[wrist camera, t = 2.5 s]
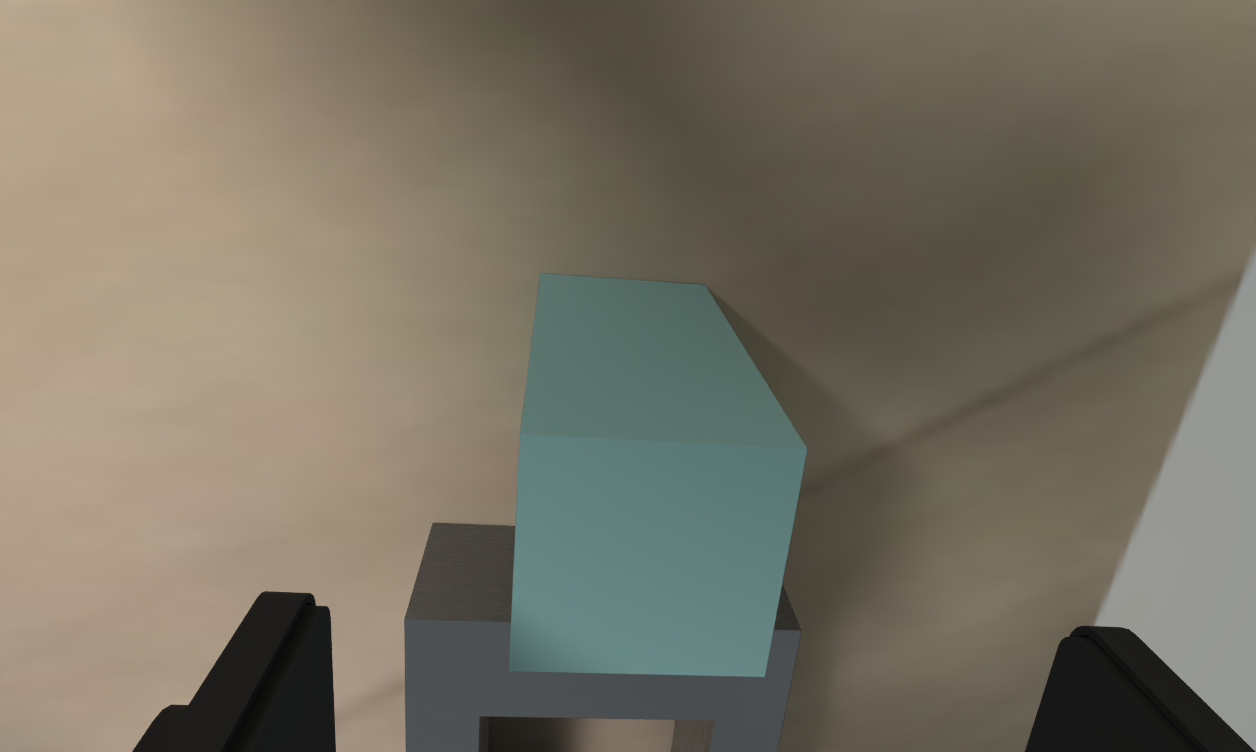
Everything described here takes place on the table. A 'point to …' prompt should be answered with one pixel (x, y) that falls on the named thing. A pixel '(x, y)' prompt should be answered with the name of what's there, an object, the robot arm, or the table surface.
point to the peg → (647, 487)
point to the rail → (484, 687)
